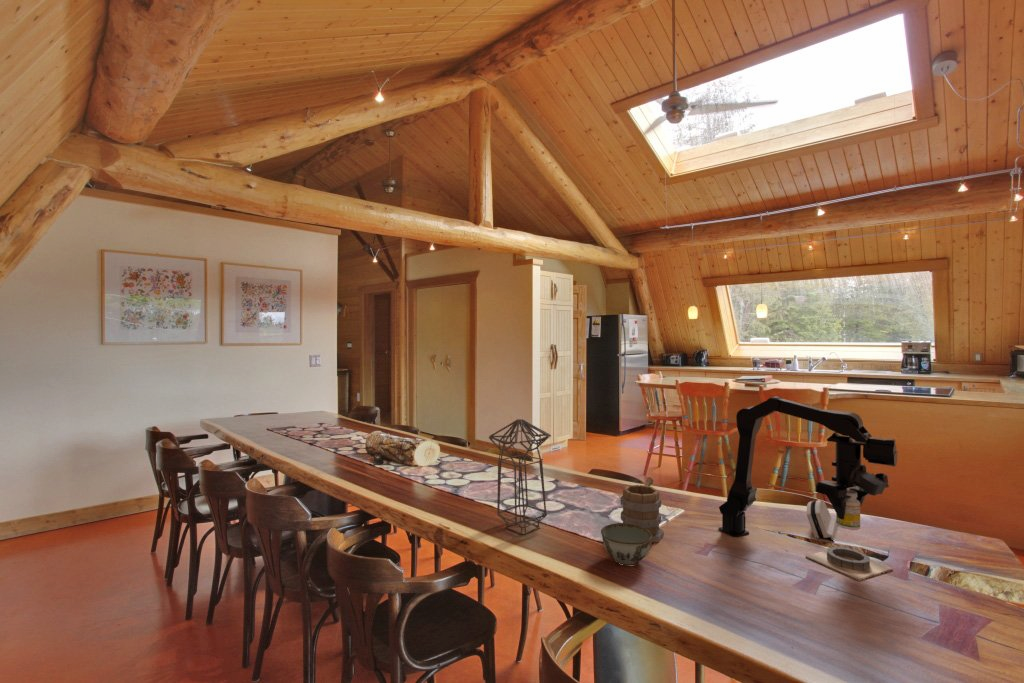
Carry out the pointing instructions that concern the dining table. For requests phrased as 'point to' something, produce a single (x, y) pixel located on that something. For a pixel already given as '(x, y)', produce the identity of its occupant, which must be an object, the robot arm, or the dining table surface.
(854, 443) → the robot arm
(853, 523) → the supplement bottle
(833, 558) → the ring holder
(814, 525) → the grey piece
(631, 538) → the bowl
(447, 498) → the dining table surface
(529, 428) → the geometric lantern
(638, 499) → the tankard
